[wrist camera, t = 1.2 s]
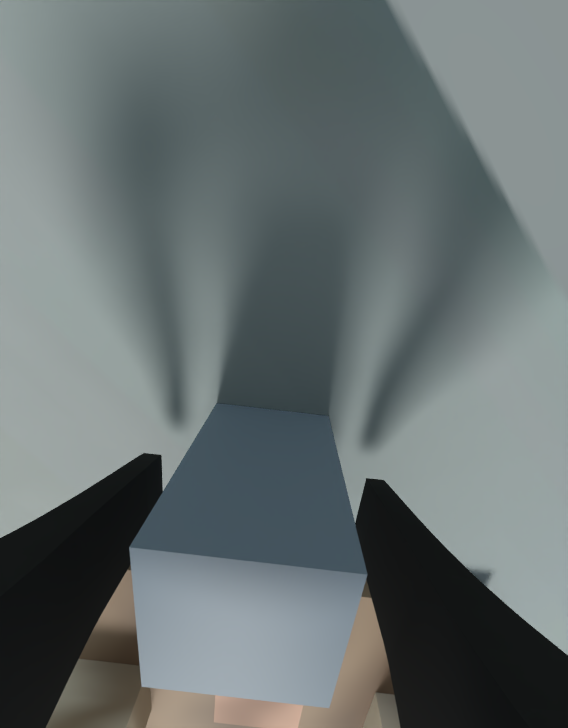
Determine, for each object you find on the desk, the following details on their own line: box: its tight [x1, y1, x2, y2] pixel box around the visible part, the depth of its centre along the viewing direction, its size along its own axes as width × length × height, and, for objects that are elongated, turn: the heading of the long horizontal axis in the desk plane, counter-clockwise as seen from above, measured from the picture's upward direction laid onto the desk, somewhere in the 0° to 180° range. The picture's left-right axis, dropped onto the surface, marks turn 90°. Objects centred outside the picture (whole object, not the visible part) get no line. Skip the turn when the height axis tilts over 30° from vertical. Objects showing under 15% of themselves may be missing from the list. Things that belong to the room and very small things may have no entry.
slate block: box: [129, 403, 368, 708], centre depth 9 cm, size 4×4×6 cm
